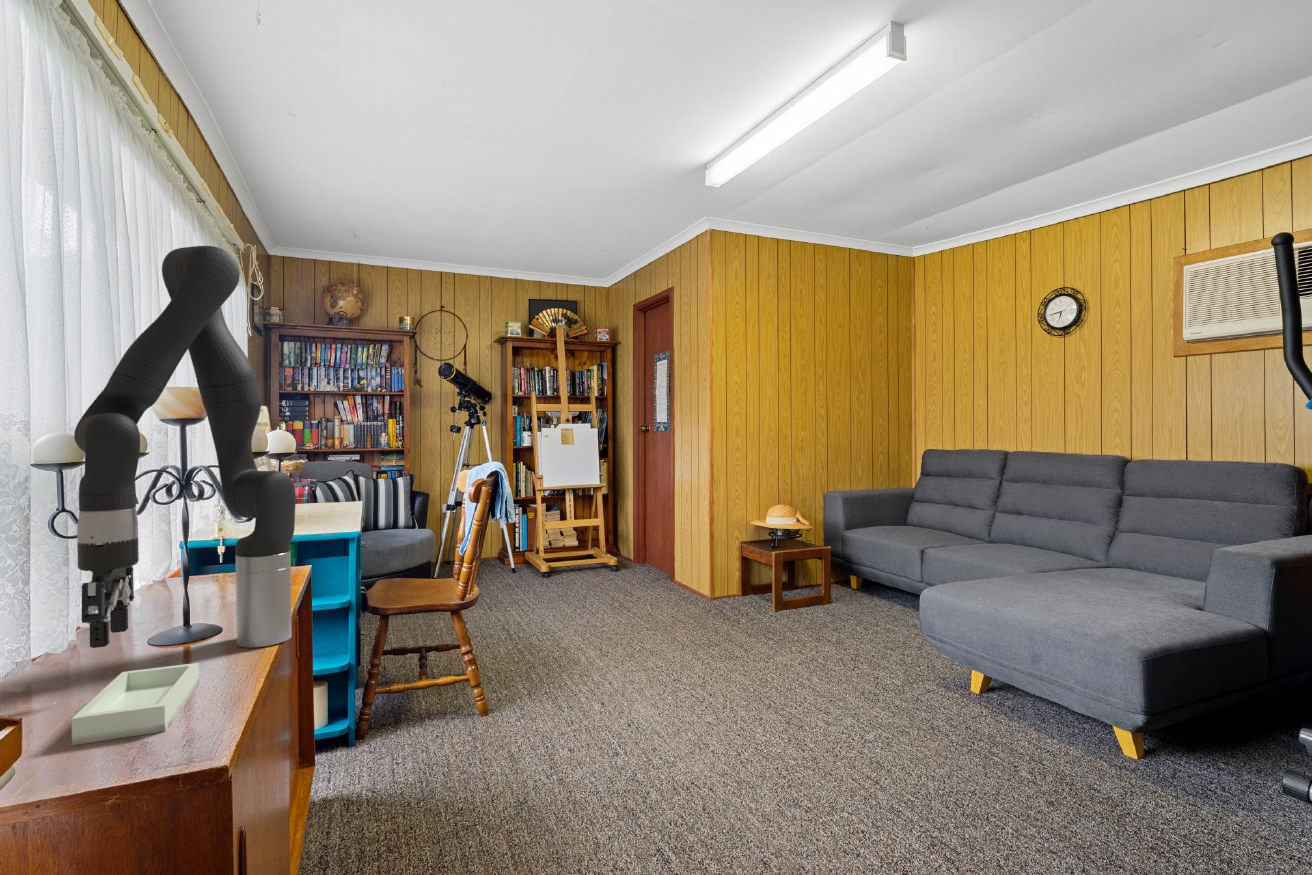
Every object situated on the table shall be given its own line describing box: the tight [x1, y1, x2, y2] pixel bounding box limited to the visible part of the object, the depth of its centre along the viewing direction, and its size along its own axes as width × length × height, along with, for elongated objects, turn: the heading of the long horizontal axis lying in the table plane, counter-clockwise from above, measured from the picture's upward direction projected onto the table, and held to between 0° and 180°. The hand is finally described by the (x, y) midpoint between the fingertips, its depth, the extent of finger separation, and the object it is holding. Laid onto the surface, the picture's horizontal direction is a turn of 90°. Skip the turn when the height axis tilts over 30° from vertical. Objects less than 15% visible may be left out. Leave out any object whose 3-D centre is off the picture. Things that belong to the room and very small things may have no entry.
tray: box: [71, 662, 200, 746], centre depth 96 cm, size 18×10×4 cm, turn 23°
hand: (109, 638), depth 105 cm, fingers open, 8 cm apart
